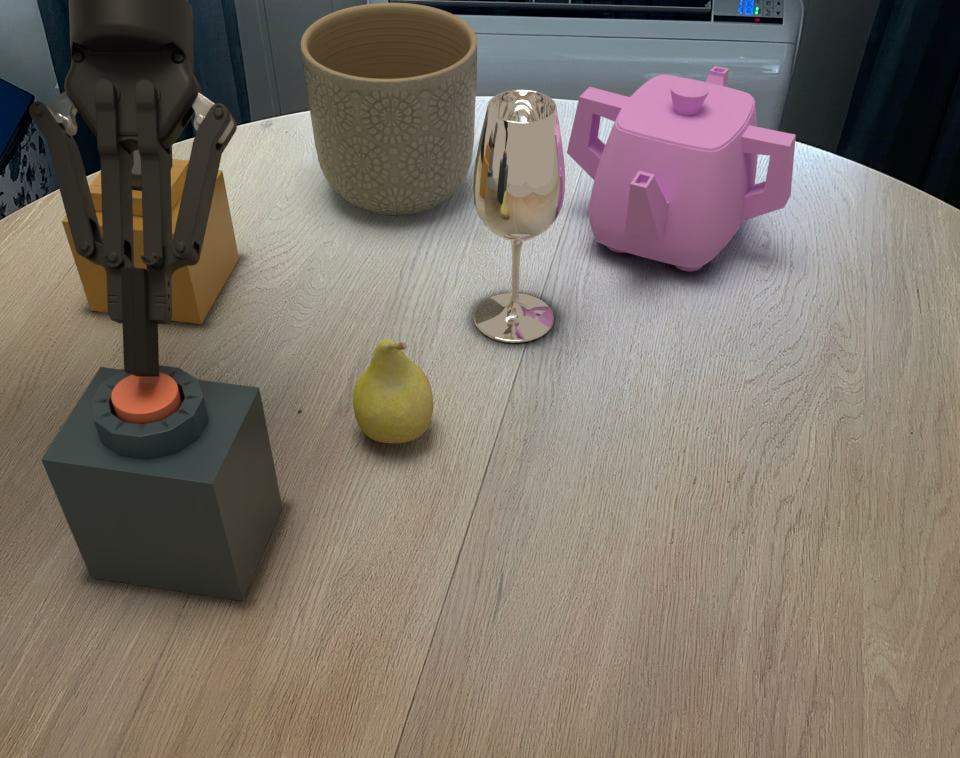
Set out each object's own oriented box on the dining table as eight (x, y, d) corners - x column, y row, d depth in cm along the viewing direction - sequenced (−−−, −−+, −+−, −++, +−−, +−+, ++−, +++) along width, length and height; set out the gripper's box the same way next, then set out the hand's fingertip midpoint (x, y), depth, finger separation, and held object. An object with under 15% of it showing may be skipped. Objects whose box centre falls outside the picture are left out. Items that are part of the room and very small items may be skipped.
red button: (108, 432, 72) (100, 408, 71) (133, 391, 75) (126, 367, 74) (170, 441, 72) (163, 417, 70) (193, 399, 75) (187, 375, 73)
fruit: (418, 399, 94) (412, 279, 85) (449, 453, 90) (447, 333, 80) (345, 418, 92) (331, 297, 83) (374, 474, 88) (363, 354, 79)
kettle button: (110, 189, 95) (105, 170, 94) (127, 166, 97) (122, 147, 96) (153, 194, 95) (148, 175, 93) (169, 171, 97) (165, 152, 96)
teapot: (704, 174, 118) (730, 27, 106) (794, 263, 107) (834, 111, 95) (543, 209, 113) (552, 60, 101) (621, 305, 103) (641, 152, 91)
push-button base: (90, 310, 102) (55, 202, 93) (134, 246, 108) (105, 139, 100) (201, 324, 100) (176, 215, 92) (239, 258, 107) (218, 151, 98)
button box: (90, 577, 81) (30, 436, 70) (140, 486, 87) (92, 343, 76) (242, 601, 80) (206, 461, 69) (282, 507, 86) (255, 364, 75)
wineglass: (455, 317, 101) (452, 103, 86) (515, 284, 105) (523, 73, 89) (511, 356, 98) (520, 140, 82) (572, 321, 101) (591, 108, 85)
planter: (308, 232, 110) (288, 78, 98) (328, 148, 120) (312, -1, 108) (473, 236, 110) (473, 82, 98) (479, 152, 120) (480, 3, 108)
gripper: (246, 21, 72) (252, 381, 75) (52, 19, 72) (65, 379, 75) (219, -35, 64) (226, 368, 67) (2, -37, 65) (19, 366, 67)
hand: (142, 373), depth 71 cm, fingers closed
